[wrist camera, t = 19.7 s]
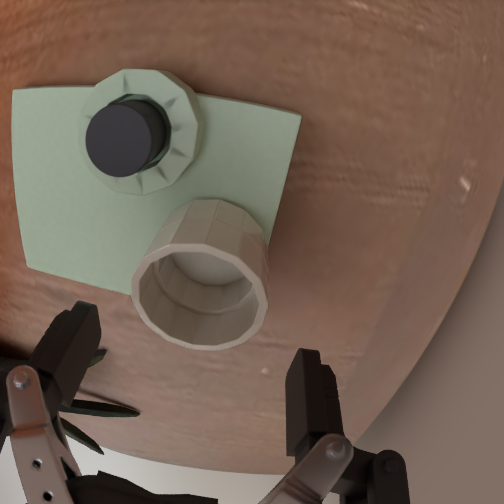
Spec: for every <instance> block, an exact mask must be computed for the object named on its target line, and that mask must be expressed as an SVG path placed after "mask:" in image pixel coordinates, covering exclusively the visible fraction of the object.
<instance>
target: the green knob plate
mask: <svg viewBox="0 0 504 504" xmlns="http://www.w3.org/2000/svg"><path fill="white" fill-rule="evenodd" d="M133 99H138V100H143V101H147V102H149V103H151V104H152V105H154V106H155V107H156V108H157V109H158V110H159V111H160V113H161V114H162V116H163V118H164V121H165V124H166V131H167V133H166V141H165V144H164V146H163V149H162V150H161V152H160V153H159V154H158V156H156V157H155V158H154V159H153V160H152V161H151V162H149V163H148V164H147V165H146V166H145V167H143V168H142V169H141V170H140V171H138V172H137V173H135V174H133V175H131V176H127V177H113V176H109V175H107V174H105V173H103V172H101V171H100V170H99V169H98V168H97V167H96V166H95V165H94V164H93V163H92V161H91V160H90V158H89V156H88V153H87V149H86V144H85V137H86V131H87V128H88V125H89V123H90V121H91V119H92V118H93V116H94V115H95V114H96V113H97V112H98V111H99V110H101V109H102V108H104V107H106V106H108V105H111V104H115V103H119V102H123V101H128V100H133ZM301 119H302V115H301V114H300V113H298V112H295V111H291V110H286V109H282V108H278V107H273V106H269V105H264V104H259V103H254V102H249V101H244V100H239V99H233V98H227V97H222V96H215V95H209V94H202V93H195V92H194V91H193V89H192V88H191V87H189V86H188V85H187V84H185V83H184V82H183V81H181V80H180V79H179V78H177V77H176V76H175V75H173V74H172V73H171V72H169V71H167V70H155V69H139V68H125V69H122V70H120V71H119V72H117V73H115V74H113V75H111V76H110V77H108V78H106V79H104V80H103V81H101V82H99V83H97V84H96V85H47V86H30V87H22V88H18V89H14V90H13V97H12V159H13V175H14V186H15V196H16V204H17V212H18V219H19V225H20V232H21V237H22V243H23V248H24V253H25V258H26V263H27V267H29V268H32V269H36V270H39V271H42V272H46V273H49V274H53V275H56V276H60V277H63V278H67V279H70V280H74V281H78V282H81V283H85V284H89V285H93V286H96V287H100V288H104V289H108V290H112V291H116V292H120V293H124V294H128V295H132V290H131V277H132V275H133V273H134V271H135V270H136V268H137V266H138V264H139V263H140V261H141V259H142V258H143V256H144V254H145V253H146V251H147V249H148V248H149V246H150V244H151V243H152V241H153V239H154V238H155V236H156V234H157V233H158V231H159V229H160V228H161V226H162V225H163V223H164V222H165V220H166V219H167V217H168V216H169V214H170V213H171V212H172V211H173V210H175V209H177V208H179V207H181V206H183V205H185V204H187V203H189V202H191V201H194V200H216V199H219V200H222V201H225V202H227V203H230V204H232V205H234V206H237V207H239V208H241V209H244V210H245V211H246V212H247V213H248V214H249V215H250V216H251V217H252V218H253V219H254V220H255V221H256V223H257V224H258V225H259V226H260V227H261V228H262V230H263V233H264V237H265V240H266V244H267V248H268V245H269V241H270V237H271V234H272V230H273V226H274V223H275V219H276V215H277V211H278V208H279V204H280V200H281V196H282V192H283V189H284V185H285V181H286V177H287V173H288V170H289V166H290V162H291V158H292V154H293V150H294V147H295V143H296V139H297V135H298V131H299V127H300V123H301Z"/></svg>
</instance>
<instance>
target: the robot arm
mask: <svg viewBox="0 0 504 504" xmlns="http://www.w3.org/2000/svg"><path fill="white" fill-rule="evenodd" d="M100 339H101V327H100V321H99V315H98V309H97V306H96V305H94V304H91V303H87V302H84V301H80V300H79V301H77V302H76V304H75V305H74V307H73V308H72V310H71V311H69V310H64V311H63V312H61V313H60V314H59V315H57V316H56V317H55V318H54V320H53V321H52V323H51V324H50V327H49V328H48V329H47V331H46V332H45V335H43V337H42V338H41V340H40V342H39V343H38V345H37V346H36V348H35V350H34V351H33V353H32V354H31V356H30V358H29V359H28V361H27V363H26V364H25V365H20V366H17V367H15V368H13V369H12V370H11V371H10V372H6V371H0V453H1V450H2V447H3V444H4V442H5V439H6V436H7V434H8V431H9V428H10V426H11V423H12V424H13V431H11V432H10V441H11V445H12V450H13V454H14V458H15V462H16V466H17V469H18V473H19V477H20V480H21V483H22V487H23V490H24V493H25V496H26V499H27V502H28V503H26V504H218V499H214V498H208V497H202V496H196V495H190V494H174V495H173V494H170V495H169V494H163V495H162V494H154V493H151V492H149V491H147V490H145V489H143V488H142V487H140V486H138V485H136V484H134V483H132V482H130V481H128V480H127V479H124V478H120V477H117V476H114V475H111V474H108V473H105V472H102V471H98V474H97V475H84V476H82V474H81V472H80V469H79V467H78V465H77V463H76V461H75V459H74V457H73V455H72V453H71V451H70V448H69V445H68V442H67V439H66V436H65V433H64V429H63V426H62V423H61V420H60V416H59V413H58V410H59V408H60V406H61V405H64V406H66V407H69V408H70V406H71V403H72V401H73V399H74V397H75V394H76V392H77V390H78V388H79V386H80V383H81V381H82V379H83V377H84V375H85V373H86V370H87V368H88V366H89V364H90V362H91V360H92V358H93V356H94V354H95V352H96V350H97V348H98V346H99V343H100ZM285 391H286V451H287V456H295V465H294V466H293V467H292V468H291V470H290V471H289V472H288V473H287V474H286V475H285V476H284V477H283V478H282V480H281V481H280V482H279V483H278V484H277V485H276V486H275V487H274V488H273V489H272V490H271V491H270V492H269V493H268V494H267V495H266V496H265V497H264V498H263V499H262V500H261V501H260V502H259V503H258V504H322V501H323V500H324V498H325V497H326V495H327V494H328V493H329V492H333V493H337V494H340V504H410V498H409V488H408V480H407V472H406V465H405V461H404V459H403V458H402V456H401V455H400V454H399V453H397V452H396V451H393V450H383V451H381V452H379V453H378V454H374V453H370V452H367V451H363V450H360V449H357V448H356V447H354V446H352V444H351V442H350V441H349V440H348V439H347V438H346V437H345V435H344V432H343V425H342V417H341V410H340V403H339V399H338V397H339V396H338V390H337V383H336V377H335V374H334V373H333V371H332V370H331V368H330V366H329V365H323V364H321V360H320V353H319V351H318V350H310V349H303V348H299V349H298V351H297V353H296V355H295V357H294V359H293V361H292V363H291V366H290V368H289V370H288V372H287V376H286V382H285Z"/></svg>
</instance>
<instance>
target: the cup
mask: <svg viewBox="0 0 504 504" xmlns="http://www.w3.org/2000/svg"><path fill="white" fill-rule="evenodd" d="M131 290H132V302H133V304H134V306H135V308H136V309H137V311H138V313H139V315H140V316H141V318H142V320H143V321H144V323H145V324H146V325H147V326H149V327H150V328H151V329H152V330H154V331H155V332H156V333H157V334H159V335H160V336H161V337H163V338H164V339H166V340H167V341H170V342H173V343H175V344H178V345H181V346H184V347H186V348H189V349H194V350H214V351H218V350H223V349H226V348H230V347H233V346H236V345H240V344H243V343H244V342H246V341H247V340H248V339H249V338H250V337H251V336H253V335H254V334H255V333H256V332H257V331H258V330H259V329H261V327H262V325H263V322H264V319H265V316H266V312H267V309H268V306H269V288H268V248H267V244H266V240H265V237H264V233H263V230H262V228H261V227H260V226H259V225H258V224H257V223H256V221H255V220H254V219H253V218H252V217H251V216H250V215H249V214H248V213H247V212H246V211H245V210H244V209H241V208H239V207H237V206H234V205H232V204H230V203H227V202H225V201H222V200H219V199H216V200H194V201H191V202H189V203H187V204H185V205H183V206H181V207H179V208H177V209H175V210H173V211H172V212H171V213H170V214H169V216H168V217H167V219H166V220H165V222H164V223H163V225H162V226H161V228H160V229H159V231H158V233H157V234H156V236H155V238H154V239H153V241H152V243H151V244H150V246H149V248H148V249H147V251H146V253H145V254H144V256H143V258H142V259H141V261H140V263H139V264H138V266H137V268H136V270H135V271H134V273H133V275H132V277H131Z"/></svg>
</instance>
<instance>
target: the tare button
mask: <svg viewBox="0 0 504 504" xmlns="http://www.w3.org/2000/svg"><path fill="white" fill-rule="evenodd" d="M166 133H167V131H166V124H165V121H164V118H163V116H162V114H161V113H160V111H159V110H158V109H157V108H156V107H155V106H154V105H152V104H151V103H149V102H147V101H143V100H138V99H133V100H128V101H123V102H119V103H115V104H111V105H108V106H106V107H104V108H102V109H101V110H99V111H98V112H97V113H96V114H95V115H94V116H93V118H92V119H91V121H90V123H89V125H88V128H87V131H86V137H85V144H86V149H87V153H88V156H89V158H90V160H91V161H92V163H93V164H94V165H95V166H96V167H97V168H98V169H99V170H100V171H101V172H103V173H105V174H107V175H109V176H113V177H127V176H131V175H133V174H135V173H137V172H138V171H140V170H141V169H142V168H143V167H145V166H146V165H147V164H148V163H149V162H151V161H152V160H153V159H154V158H155V157H156V156H158V154H159V153H160V152H161V150H162V149H163V146H164V144H165V141H166Z"/></svg>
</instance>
